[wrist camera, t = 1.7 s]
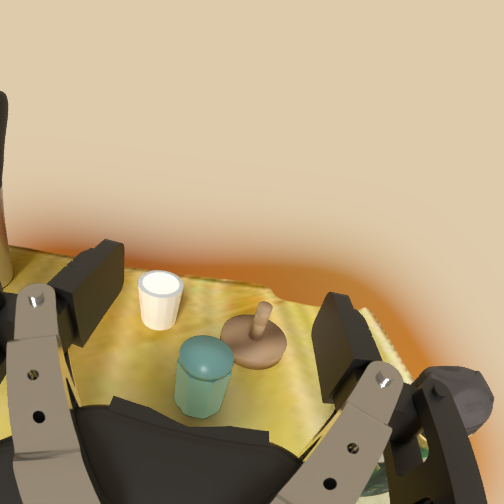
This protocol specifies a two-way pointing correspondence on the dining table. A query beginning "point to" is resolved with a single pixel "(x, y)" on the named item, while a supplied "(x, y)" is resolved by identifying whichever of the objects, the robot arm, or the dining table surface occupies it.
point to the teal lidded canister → (202, 375)
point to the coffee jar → (468, 404)
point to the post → (255, 339)
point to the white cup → (159, 298)
